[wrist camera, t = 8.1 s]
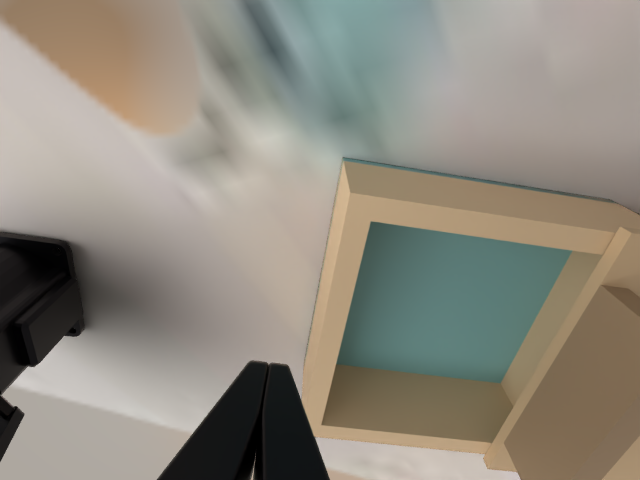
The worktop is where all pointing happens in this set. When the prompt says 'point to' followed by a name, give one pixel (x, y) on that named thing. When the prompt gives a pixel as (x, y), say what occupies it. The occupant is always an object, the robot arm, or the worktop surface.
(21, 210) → the worktop surface
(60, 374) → the worktop surface
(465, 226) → the mailer box
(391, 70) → the worktop surface
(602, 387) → the lid
